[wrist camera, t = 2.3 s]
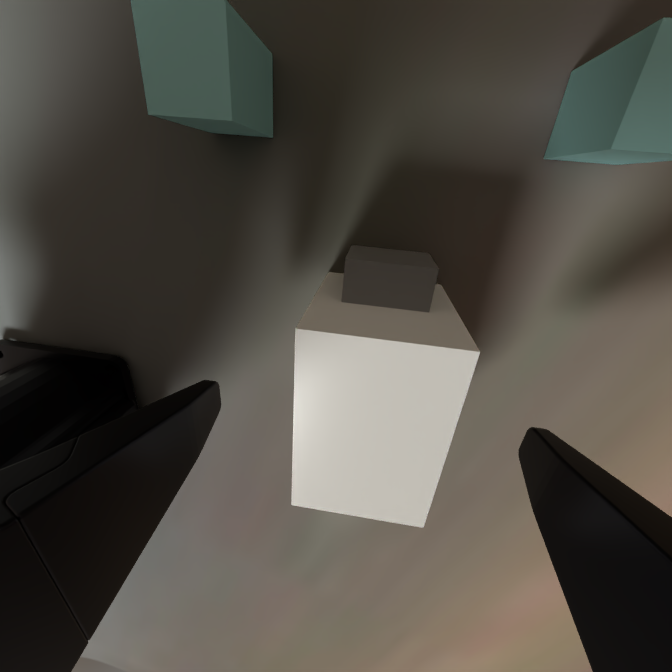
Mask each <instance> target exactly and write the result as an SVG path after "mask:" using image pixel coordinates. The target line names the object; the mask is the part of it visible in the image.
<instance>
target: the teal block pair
mask: <svg viewBox="0 0 672 672" xmlns="http://www.w3.org/2000/svg"><path fill="white" fill-rule="evenodd" d="M131 7H132V13H133V20H134V26H135V33H136V39H137V46H138V52H139V59H140V65H141V72H142V78H143V85H144V91H145V98H146V104H147V111H148V115H152V116H155V117H158V118H162V119H165V120H169V121H172V122H176V123H179V124H182V125H186V126H189V127H193V128H196V129H200V130H203V131H206V132H210V133H219V134H232V135H245V136H257V137H270V138H273V58H272V53H271V52H270V51H269V50H268V48H267V47H266V46H265V45H264V44H263V42H262V41H261V40H260V39H259V38H258V37H257V35H256V34H255V33H254V32H253V31H252V30H251V28H250V27H249V26H248V25H247V24H246V22H245V21H244V20H243V19H242V18H241V17H240V15H239V14H238V13H237V12H236V11H235V10H234V8H233V7H232V6H231V5H230V4H229V3H228V1H227V0H131ZM544 159H550V160H562V161H575V162H588V163H601V164H613V165H621V164H634V163H647V162H661V161H672V18H665V17H664V18H662V19H660V20H658V21H657V22H655V23H653V24H652V25H650V26H648V27H646V28H645V29H643V30H641V31H640V32H638V33H636V34H634V35H633V36H631V37H629V38H628V39H626V40H624V41H623V42H621V43H619V44H617V45H616V46H614V47H612V48H611V49H609V50H607V51H605V52H604V53H602V54H600V55H599V56H597V57H595V58H593V59H592V60H590V61H588V62H587V63H585V64H583V65H582V66H580V67H578V68H576V69H575V70H573V71H572V72H571V75H570V78H569V81H568V84H567V88H566V91H565V94H564V97H563V100H562V103H561V106H560V109H559V112H558V115H557V118H556V121H555V125H554V128H553V131H552V134H551V137H550V140H549V143H548V146H547V149H546V152H545V155H544Z"/></svg>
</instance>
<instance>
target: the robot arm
mask: <svg viewBox="0 0 672 672" xmlns="http://www.w3.org/2000/svg"><path fill="white" fill-rule="evenodd" d="M220 408H221V398H220V389H219V384H218V383H217V382H216V381H210V380H203V381H200V382H198V383H196V384H194V385H192V386H189V387H187V388H185V389H183V390H180V391H178V392H176V393H174V394H172V395H169V396H167V397H165V398H163V399H160V400H158V401H156V402H154V403H151V404H149V405H147V406H145V407H143V408H140V409H138V405H137V401H136V397H135V393H134V389H133V385H132V381H131V377H130V373H129V369H128V366H127V363H126V362H125V361H124V360H123V359H122V358H120V357H119V356H115V355H109V354H102V353H95V352H88V351H81V350H74V349H67V348H60V347H53V346H45V345H38V344H31V343H24V342H17V341H10V340H0V672H71V671H72V669H73V668H74V666H75V664H76V663H77V661H78V659H79V658H80V656H81V654H82V653H83V651H84V649H85V647H86V646H87V644H88V640H90V639H91V637H92V635H93V634H94V632H95V630H96V629H97V627H98V625H99V623H100V622H101V620H102V618H103V617H104V615H105V613H106V612H107V610H108V608H109V607H110V605H111V603H112V602H113V600H114V598H115V597H116V595H117V593H118V592H119V590H120V588H121V587H122V585H123V583H124V581H125V580H126V578H127V576H128V575H129V573H130V571H131V570H132V568H133V566H134V565H135V563H136V561H137V560H138V558H139V556H140V555H141V553H142V551H143V550H144V548H145V546H146V545H147V543H148V541H149V539H150V538H151V536H152V534H153V533H154V531H155V529H156V528H157V526H158V524H159V523H160V521H161V519H162V518H163V516H164V514H165V513H166V511H167V509H168V508H169V506H170V504H171V503H172V501H173V499H174V497H175V496H176V494H177V492H178V491H179V489H180V487H181V486H182V484H183V482H184V481H185V479H186V477H187V476H188V474H189V472H190V471H191V469H192V467H193V466H194V464H195V462H196V460H197V459H198V457H199V455H200V453H201V451H202V449H203V447H204V444H205V442H206V440H207V438H208V436H209V433H210V431H211V429H212V427H213V425H214V423H215V420H216V418H217V416H218V414H219V411H220ZM519 460H520V464H521V468H522V471H523V475H524V479H525V483H526V487H527V491H528V495H529V498H530V502H531V506H532V509H533V512H534V515H535V518H536V521H537V523H538V526H539V529H540V531H541V534H542V537H543V539H544V542H545V545H546V548H547V550H548V553H549V556H550V558H551V561H552V564H553V566H554V569H555V572H556V574H557V577H558V580H559V582H560V585H561V588H562V590H563V593H564V596H565V598H566V601H567V604H568V606H569V609H570V612H571V614H572V617H573V620H574V623H575V625H576V628H577V631H578V633H579V636H580V639H581V641H582V644H583V647H584V649H585V652H586V655H587V657H588V660H589V663H590V665H591V668H592V671H593V672H672V517H670V516H669V515H668V514H666V513H665V512H663V511H662V510H660V509H659V508H658V507H656V506H655V505H653V504H652V503H651V502H649V501H648V500H646V499H645V498H643V497H642V496H641V495H639V494H638V493H636V492H635V491H634V490H632V489H631V488H629V487H628V486H626V485H625V484H624V483H622V482H621V481H619V480H618V479H617V478H615V477H614V476H612V475H611V474H609V473H608V472H607V471H605V470H604V469H602V468H601V467H600V466H598V465H597V464H595V463H594V462H593V461H591V460H590V459H588V458H587V457H585V456H584V455H583V454H581V453H580V452H578V451H577V450H576V449H574V448H573V447H571V446H570V445H568V444H567V443H566V442H564V441H563V440H561V439H560V438H559V437H557V436H556V435H554V434H553V433H551V432H550V431H549V430H547V429H542V428H535V427H531V428H529V429H528V430H527V432H526V434H525V437H524V439H523V441H522V443H521V445H520V448H519Z"/></svg>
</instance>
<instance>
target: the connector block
mask: <svg viewBox="0 0 672 672" xmlns="http://www.w3.org/2000/svg"><path fill="white" fill-rule="evenodd" d="M438 272H439V268H438V266H437V265H436V263H435V262H434V260H433V259H432V257H431V256H430V254H429V253H424V252H415V251H405V250H396V249H386V248H376V247H367V246H357V245H351V247H350V250H349V252H348V254H347V256H346V258H345V267H344V274H342V273H333V272H328V274H327V275H326V277H325V279H324V281H323V282H322V284H321V286H320V287H319V289H318V291H317V293H316V294H315V296H314V298H313V299H312V301H311V303H310V305H309V306H308V308H307V310H306V311H305V313H304V315H303V317H302V318H301V320H300V322H299V323H298V325H297V327H296V328H295V372H294V416H293V460H292V504H291V505H294V506H300V507H306V508H312V509H317V510H323V511H329V512H335V513H341V514H346V515H352V516H358V517H364V518H370V519H375V520H381V521H387V522H393V523H398V524H404V525H410V526H416V527H422V528H423V527H424V524H425V521H426V518H427V515H428V512H429V509H430V506H431V503H432V499H433V496H434V493H435V490H436V487H437V484H438V481H439V478H440V475H441V472H442V469H443V465H444V462H445V459H446V456H447V453H448V450H449V447H450V444H451V441H452V438H453V435H454V431H455V428H456V425H457V422H458V419H459V416H460V413H461V410H462V407H463V404H464V401H465V397H466V394H467V391H468V388H469V385H470V382H471V379H472V376H473V373H474V370H475V367H476V363H477V360H478V357H479V354H480V351H479V349H478V347H477V346H476V344H475V342H474V340H473V339H472V337H471V335H470V334H469V332H468V330H467V328H466V327H465V325H464V323H463V321H462V320H461V318H460V316H459V315H458V313H457V311H456V309H455V308H454V306H453V304H452V303H451V301H450V299H449V297H448V296H447V294H446V292H445V290H444V289H443V287H442V285H441V284H436V280H437V276H438Z"/></svg>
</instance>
